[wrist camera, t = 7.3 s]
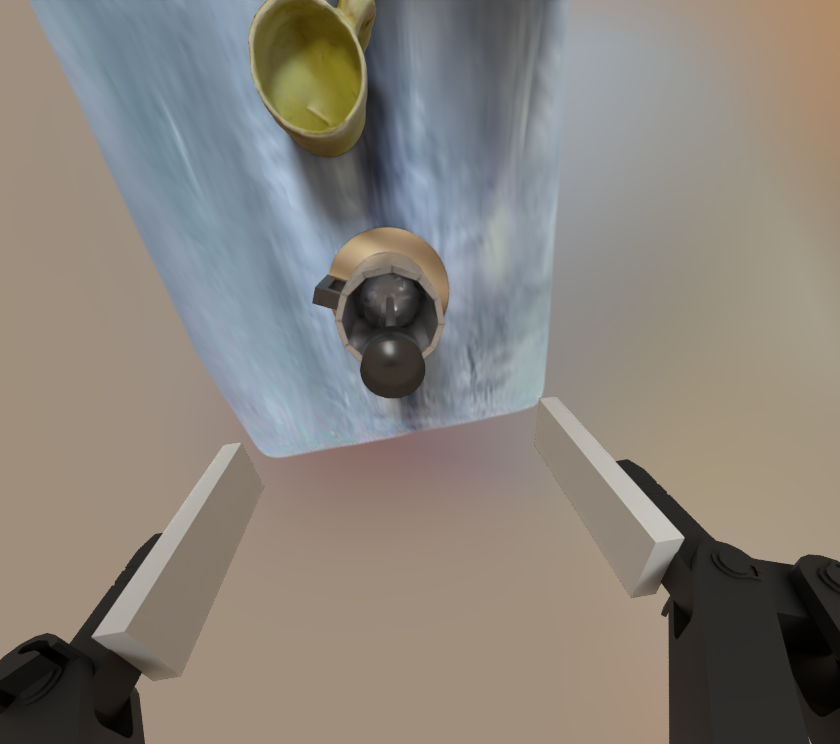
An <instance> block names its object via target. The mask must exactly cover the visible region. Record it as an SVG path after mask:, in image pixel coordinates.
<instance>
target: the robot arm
mask: <svg viewBox="0 0 840 744" xmlns="http://www.w3.org/2000/svg"><path fill="white" fill-rule="evenodd" d="M535 447H536V448H537V450H538V452H539V453H540V455H541V456H542V458H543V459H544V461H545V463H546V464H547V466H548V468H549V469H550V471H551V472H552V474H553V475H554V477H555V479H556V480H557V482H558V483H559V485H560V486H561V488H562V490H563V491H564V493H565V495H566V496H567V498H568V499H569V501H570V502H571V504H572V506H573V507H574V509H575V510H576V512H577V513H578V515H579V517H580V518H581V520H582V521H583V523H584V525H585V526H586V528H587V529H588V531H589V533H590V534H591V536H592V537H593V539H594V541H595V542H596V544H597V545H598V547H599V548H600V550H601V552H602V553H603V555H604V556H605V558H606V560H607V561H608V562H609V564H610V566H611V568H612V569H613V571H614V572H615V574H616V575H617V577H618V579H619V580H620V582H621V583H622V585H623V587H624V588H625V590H626V591H627V593H628V594H629V596H630V598H635V597H640V596H646V595H652V594H656V592H657V590H658V588H659V586H660V585H661V583H662V584H663V586H664V587H665V588H666V590H667V591H668V592H669V594H670V597H669V598H668V600H667V602H666V604H665V606H664V607H663V610H662V613H661V615H663V616H665V617H666V616H667V614H668V613H669V744H810V743H809V739H810V741H811V743H812V744H840V562H838V561H837V560H833V559H830V558H827V557H824V556H820V555H806V556H803V557H801V558H800V559H799V560H798V561H797V562H796V563H795V565H790V564H784V563H777V562H771V561H765V560H758V559H753V558H751V557H750V556H748V555H747V554H746V553H744V552H743V551H741V550H739V549H738V548H736V547H733V546H731V545H729V544H727V543H723V542H719V541H716V540H715V539H714V538H712V537H711V536H710V535H709V534H708V533H707V532H706V531H705V530H704V529H703V528H702V527H701V526H700V525H699V524H698V523H697V522H696V521H695V520H694V519H693V518H692V517H691V516H690V515H689V514H688V513H687V512H686V511H685V510H684V509H683V508H682V507H681V506H680V505H679V504H678V503H677V502H676V501H675V500H674V499H673V498H672V497H671V496H670V495H668V494H667V492H666V491H665V490H664V489H663V488H662V487H661V486H660V485H659V484H657V483H656V481H655V480H654V479H653V478H652V477H651V476H650V475H649V474H648V473H647V472H646V471H645V470H644V469H643V468H641V467H639V466H638V465H636V464H635V463H633V462H631V461H630V460H628V459H627V460H620V461H614V459H612V457H611V456H610V455H609V454H608V453H607V452H606V451H605V450H604V448H603V447H602V446H601V445H600V444H599V443H598V442H597V441H596V440H595V439H594V438H593V437H592V435H591V434H590V433H589V432H588V431H587V430H586V429H585V428H584V427H583V425H582V424H581V423H580V422H579V421H578V420H577V419H576V418H575V417H574V416H573V414H572V413H571V412H570V411H569V410H568V409H567V408H566V407H565V406H564V405H563V404H562V402H561V401H560V400H559V399H558V398H557V397H556V396H554V397H547V398H540V399H539V405H538V415H537V425H536V435H535ZM263 488H264V485H263V483H262V481H261V479H260V477H259V475H258V473H257V471H256V469H255V467H254V465H253V463H252V461H251V460H250V458H249V456H248V454H247V452H246V450H245V448H244V446H243V444H242V443H235V444H228V445H223V447H222V449H221V450H220V451H219V453H218V454H217V456H216V457H215V458H214V460H213V462H212V463H211V464H210V466H209V467H208V469H207V470H206V472H205V473H204V474H203V476H202V477H201V479H200V480H199V482H198V483H197V485H196V486H195V487H194V489H193V490H192V492H191V493H190V495H189V496H188V498H187V499H186V501H185V502H184V503H183V505H182V506H181V508H180V509H179V511H178V512H177V514H176V515H175V517H174V518H173V520H172V521H171V522H170V524H169V525H168V527H167V528H166V530H165V531H164V533H159V534H155V535H154V536H153V537H151V538H150V539H149V540H148V541H147V542H146V543H145V544H144V545H143V546H142V547H141V548H140V549H139V550H138V551H137V552H136V553H135V555H134V556H133V558H132V559H131V560H130V562H129V563H128V564H127V566H126V567H125V568H126V569H125V571H122V573H121V574H120V575H119V577H118V578H117V580H116V581H115V585H114V586H111V588H110V589H109V591H108V592H107V593H106V595H105V596H104V597H103V599H102V600H101V601H100V603H99V604H98V606H97V607H96V608H95V610H94V611H93V613H92V614H91V615H90V617H89V618H88V619H87V621H86V622H85V623H84V625H83V626H82V628H81V629H80V630H79V632H78V633H77V635H76V636H75V637H74V638H73V640H72V641H71V643H70V644H68V643H66V642H65V641H63V640H62V639H60V638H59V637H57V636H56V635H52V634H49V633H46V634H43V635H39V636H35V637H33V638H32V639H30V640H28V641H26V642H24V643H22V644H21V645H19V646H18V647H16V648H15V649H14V650H12V651H11V652H10V653H8V654H7V655H5V656H4V657H3V658H2V659H1V660H0V744H145V740H144V732H143V724H142V715H141V707H140V698H139V693H138V692H137V689H136V688H135V687H134V686H135V684H136V683H137V681H138V679H139V677H140V675H141V673H142V674H144V675H145V676H147V677H148V678H150V679H151V680H152V681H157V680H162V679H168V678H174V677H180V676H181V675H182V673H183V671H184V668H185V666H186V663H187V662H188V659H189V657H190V655H191V652H192V650H193V648H194V646H195V643H196V641H197V639H198V637H199V634H200V632H201V630H202V627H203V625H204V623H205V621H206V618H207V616H208V614H209V611H210V609H211V607H212V605H213V602H214V600H215V598H216V596H217V593H218V591H219V589H220V586H221V584H222V582H223V580H224V577H225V575H226V573H227V570H228V568H229V566H230V564H231V561H232V559H233V557H234V555H235V552H236V550H237V548H238V546H239V543H240V541H241V538H242V536H243V534H244V532H245V529H246V527H247V525H248V523H249V520H250V518H251V516H252V514H253V511H254V509H255V507H256V505H257V502H258V500H259V498H260V495H261V493H262V491H263ZM808 737H809V738H808Z"/></svg>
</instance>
